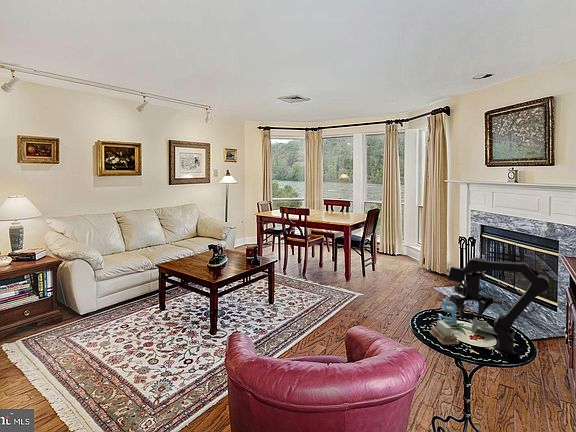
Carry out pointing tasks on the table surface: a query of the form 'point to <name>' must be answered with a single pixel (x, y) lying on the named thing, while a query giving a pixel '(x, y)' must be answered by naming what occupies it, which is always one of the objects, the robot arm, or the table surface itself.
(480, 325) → the metal bracket
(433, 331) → the brown rectangular tray
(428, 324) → the table surface
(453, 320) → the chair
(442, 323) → the pale rectangular block
